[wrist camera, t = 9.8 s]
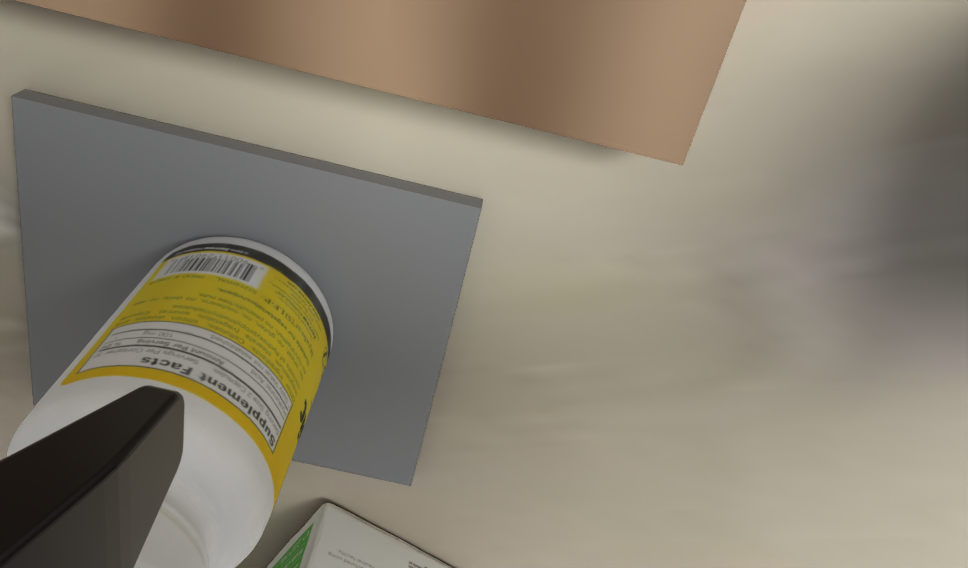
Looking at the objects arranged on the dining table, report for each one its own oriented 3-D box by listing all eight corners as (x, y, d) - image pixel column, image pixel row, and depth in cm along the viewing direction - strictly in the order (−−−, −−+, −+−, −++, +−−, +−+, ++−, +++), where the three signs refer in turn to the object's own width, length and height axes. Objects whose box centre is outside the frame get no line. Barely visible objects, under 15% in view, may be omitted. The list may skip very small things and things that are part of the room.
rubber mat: (482, 199, 21) (481, 208, 20) (413, 472, 26) (410, 486, 25) (25, 89, 20) (11, 95, 19) (44, 392, 25) (33, 404, 24)
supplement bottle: (247, 419, 24) (91, 736, 16) (109, 296, 22) (-154, 582, 14) (378, 334, 22) (281, 641, 14) (241, 192, 20) (30, 448, 12)
